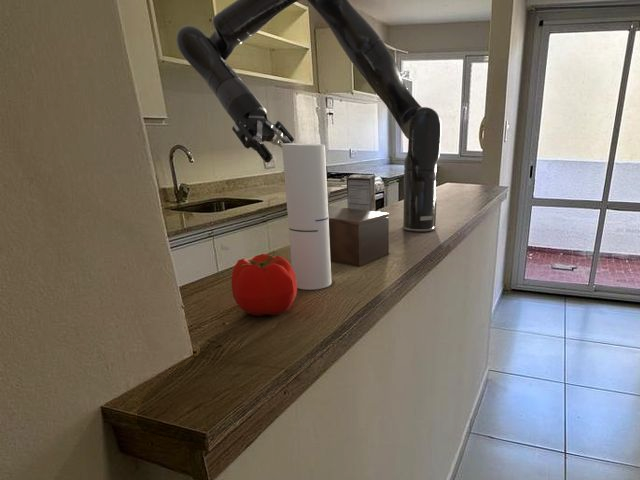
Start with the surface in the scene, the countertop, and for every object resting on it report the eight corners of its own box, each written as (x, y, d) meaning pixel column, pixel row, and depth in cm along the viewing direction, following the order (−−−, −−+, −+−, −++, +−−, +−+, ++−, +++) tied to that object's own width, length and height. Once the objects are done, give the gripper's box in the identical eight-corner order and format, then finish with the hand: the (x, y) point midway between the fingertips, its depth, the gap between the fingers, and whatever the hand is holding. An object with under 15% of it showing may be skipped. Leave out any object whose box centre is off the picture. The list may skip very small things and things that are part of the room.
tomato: (258, 295, 79) (252, 247, 75) (313, 304, 76) (309, 254, 72) (215, 317, 69) (207, 264, 66) (276, 328, 66) (270, 273, 63)
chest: (302, 255, 103) (300, 217, 100) (335, 244, 114) (334, 209, 110) (359, 266, 97) (358, 226, 93) (388, 253, 107) (388, 216, 104)
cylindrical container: (339, 283, 86) (333, 145, 76) (307, 292, 81) (297, 145, 71) (317, 275, 90) (309, 143, 81) (286, 282, 85) (273, 143, 76)
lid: (297, 217, 100) (295, 194, 98) (331, 209, 110) (330, 188, 109) (358, 225, 93) (357, 201, 92) (388, 216, 104) (388, 194, 102)
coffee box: (353, 232, 127) (352, 173, 121) (376, 233, 127) (375, 174, 121) (348, 240, 118) (346, 177, 112) (372, 241, 118) (371, 178, 112)
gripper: (223, 89, 96) (268, 148, 96) (271, 94, 108) (311, 147, 108) (209, 115, 101) (253, 172, 100) (257, 117, 112) (296, 168, 112)
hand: (283, 159), depth 104 cm, fingers open, 8 cm apart
